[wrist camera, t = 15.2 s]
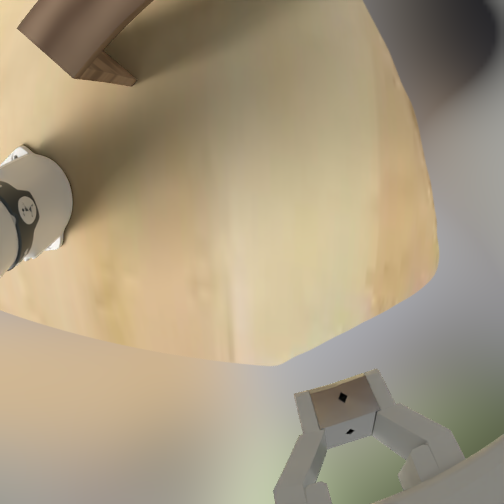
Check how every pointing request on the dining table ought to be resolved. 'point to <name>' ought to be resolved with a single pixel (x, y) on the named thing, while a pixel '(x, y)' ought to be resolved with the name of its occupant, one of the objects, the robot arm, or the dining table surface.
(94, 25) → the wooden bridge arch
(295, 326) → the dining table surface
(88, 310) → the dining table surface
